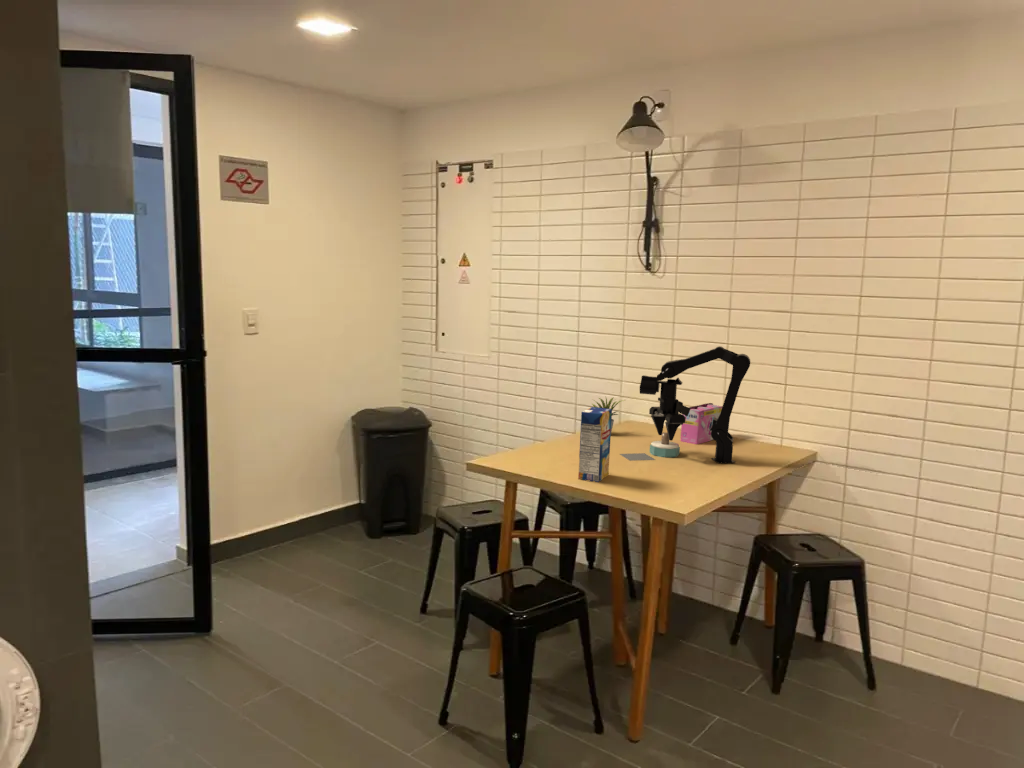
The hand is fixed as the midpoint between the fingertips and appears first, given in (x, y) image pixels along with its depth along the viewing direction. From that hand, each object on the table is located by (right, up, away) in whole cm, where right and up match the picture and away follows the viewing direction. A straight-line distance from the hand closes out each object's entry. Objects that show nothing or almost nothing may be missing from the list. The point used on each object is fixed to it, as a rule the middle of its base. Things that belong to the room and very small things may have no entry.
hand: (665, 437), depth 281 cm
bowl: (0, -7, +1) cm, 7 cm away
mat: (-11, -7, -5) cm, 14 cm away
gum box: (+22, -3, +33) cm, 39 cm away
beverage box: (-30, -11, -33) cm, 46 cm away
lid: (0, -3, 0) cm, 3 cm away
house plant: (-17, -1, +36) cm, 39 cm away
